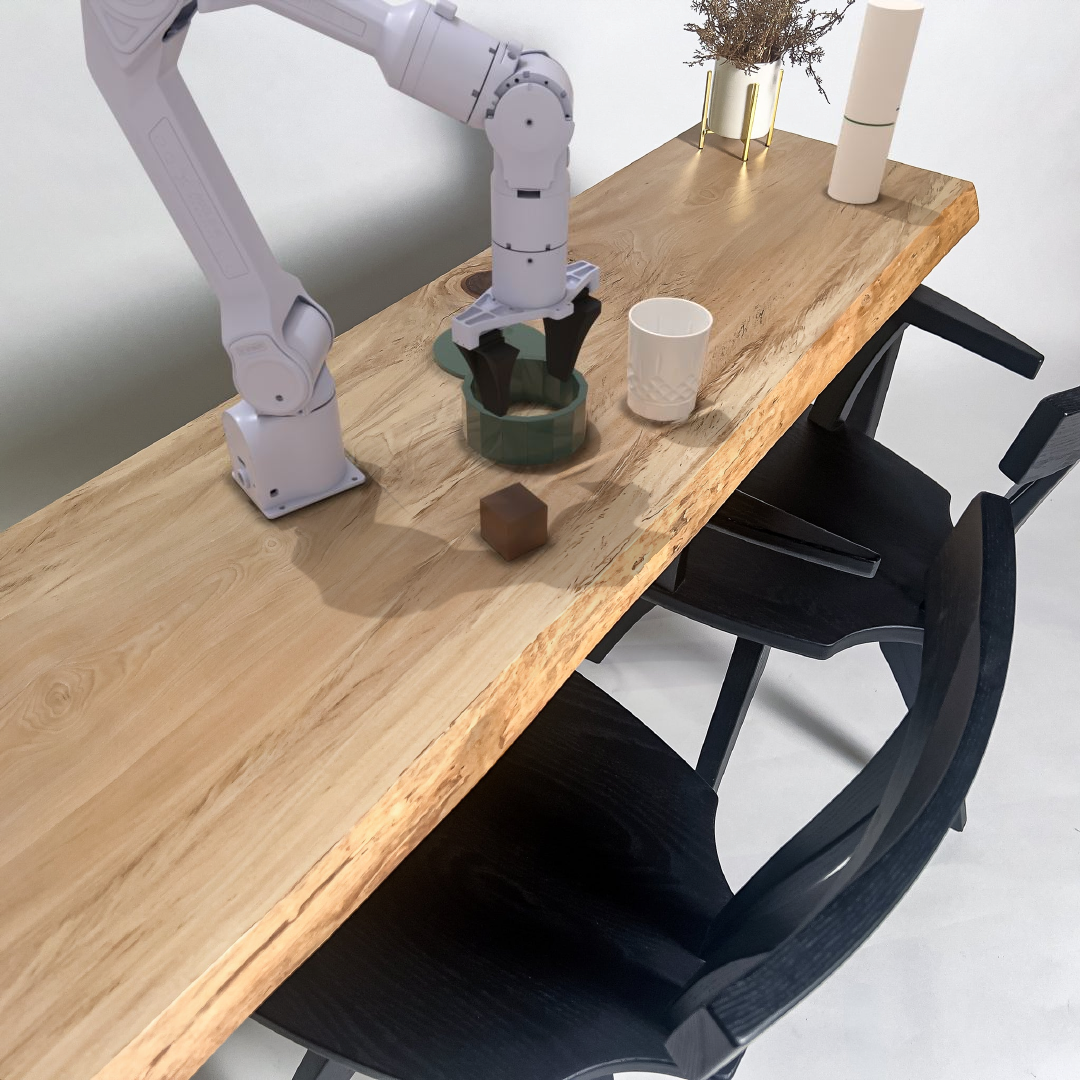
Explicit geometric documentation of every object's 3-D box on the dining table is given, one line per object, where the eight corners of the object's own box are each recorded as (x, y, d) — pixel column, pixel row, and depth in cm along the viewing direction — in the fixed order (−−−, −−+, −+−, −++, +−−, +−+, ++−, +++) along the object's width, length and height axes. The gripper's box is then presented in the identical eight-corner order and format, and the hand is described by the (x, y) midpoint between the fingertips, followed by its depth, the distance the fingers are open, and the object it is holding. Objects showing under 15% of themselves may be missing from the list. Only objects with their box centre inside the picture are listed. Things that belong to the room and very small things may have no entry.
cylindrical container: (883, 192, 143) (931, 2, 127) (868, 207, 138) (916, 12, 122) (836, 182, 146) (877, -5, 129) (820, 196, 141) (860, 4, 125)
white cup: (642, 378, 101) (651, 290, 95) (712, 400, 98) (726, 310, 92) (607, 413, 96) (614, 322, 90) (679, 437, 93) (692, 344, 87)
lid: (476, 400, 98) (475, 356, 94) (410, 349, 105) (407, 306, 102) (575, 363, 103) (577, 320, 100) (505, 317, 111) (505, 275, 108)
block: (508, 561, 79) (508, 524, 76) (480, 536, 81) (479, 498, 79) (547, 543, 81) (548, 505, 78) (518, 518, 83) (519, 481, 81)
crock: (510, 485, 87) (510, 435, 83) (441, 426, 94) (438, 378, 90) (609, 442, 92) (613, 393, 89) (536, 389, 99) (537, 342, 96)
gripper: (497, 284, 66) (499, 448, 75) (633, 225, 74) (620, 379, 83) (428, 252, 69) (438, 412, 78) (565, 199, 78) (560, 350, 86)
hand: (527, 393), depth 81 cm, fingers open, 7 cm apart
